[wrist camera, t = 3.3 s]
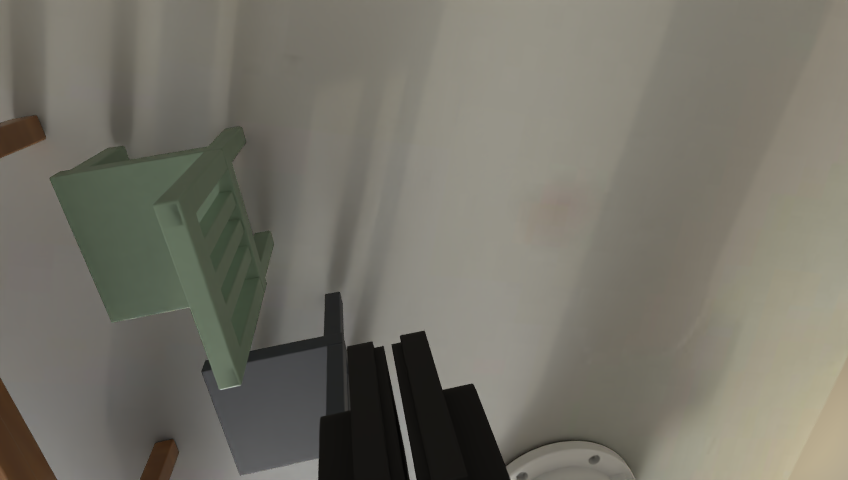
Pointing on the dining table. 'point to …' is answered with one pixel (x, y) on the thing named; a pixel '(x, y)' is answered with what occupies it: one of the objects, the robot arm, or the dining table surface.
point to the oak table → (3, 424)
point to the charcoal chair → (285, 397)
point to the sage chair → (173, 242)
